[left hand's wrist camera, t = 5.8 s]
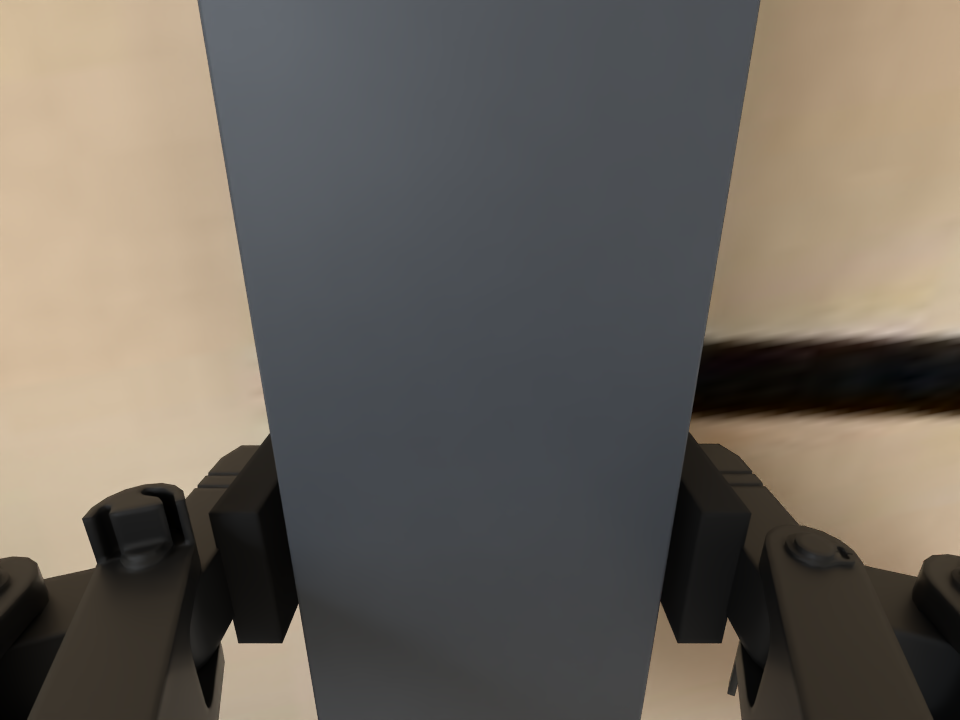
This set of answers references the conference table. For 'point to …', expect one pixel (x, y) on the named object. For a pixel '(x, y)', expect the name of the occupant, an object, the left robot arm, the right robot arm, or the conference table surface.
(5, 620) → the left robot arm
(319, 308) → the bar
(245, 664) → the conference table surface
